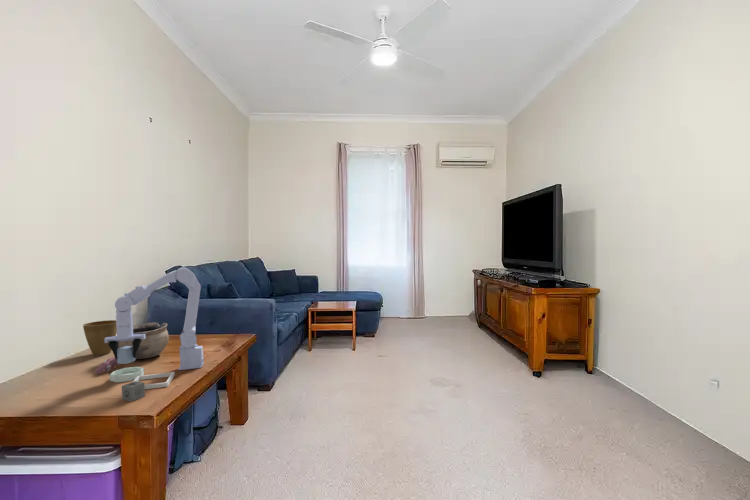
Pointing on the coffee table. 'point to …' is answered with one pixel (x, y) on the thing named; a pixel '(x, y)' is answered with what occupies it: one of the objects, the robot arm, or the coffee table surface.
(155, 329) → the ceramic bowl
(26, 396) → the coffee table surface
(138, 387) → the dice cube
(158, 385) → the white flat frame piece
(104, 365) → the video game controller
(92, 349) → the plant pot
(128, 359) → the slate block
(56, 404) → the coffee table surface
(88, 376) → the coffee table surface
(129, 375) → the ceramic dish
